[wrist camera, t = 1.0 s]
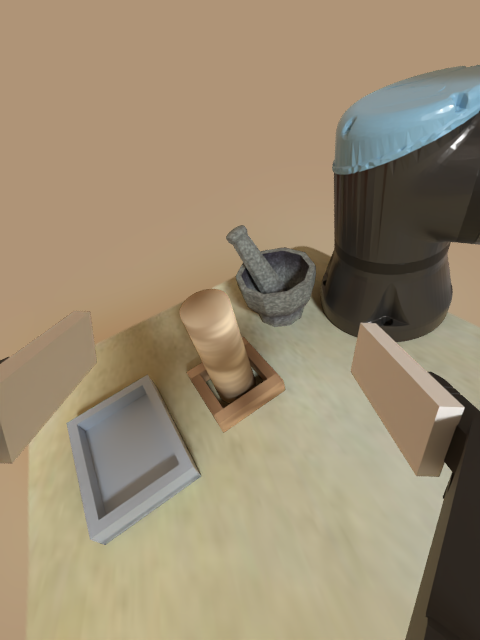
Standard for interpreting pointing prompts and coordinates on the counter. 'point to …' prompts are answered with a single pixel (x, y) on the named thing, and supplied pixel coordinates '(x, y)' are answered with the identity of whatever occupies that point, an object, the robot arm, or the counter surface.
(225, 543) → the counter surface
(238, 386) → the dowel
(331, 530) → the counter surface
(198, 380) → the socket block
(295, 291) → the mortar and pestle
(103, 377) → the counter surface
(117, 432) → the tray
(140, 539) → the counter surface
